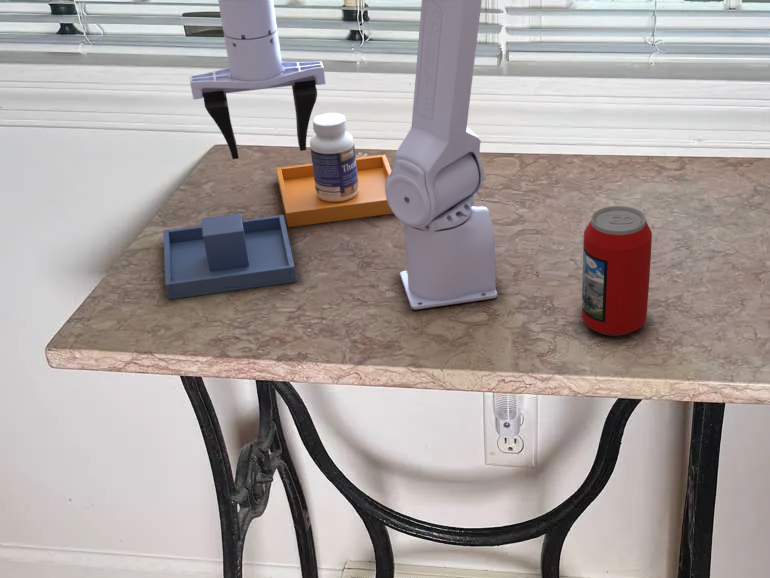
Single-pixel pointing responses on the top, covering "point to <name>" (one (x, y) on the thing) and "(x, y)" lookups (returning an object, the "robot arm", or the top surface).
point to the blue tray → (194, 277)
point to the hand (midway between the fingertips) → (268, 151)
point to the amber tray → (311, 209)
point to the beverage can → (616, 270)
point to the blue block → (225, 242)
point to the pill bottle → (333, 158)
